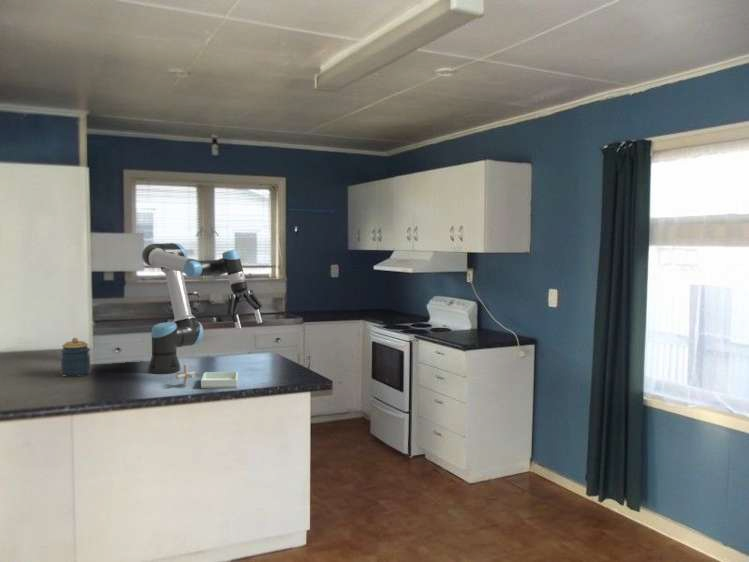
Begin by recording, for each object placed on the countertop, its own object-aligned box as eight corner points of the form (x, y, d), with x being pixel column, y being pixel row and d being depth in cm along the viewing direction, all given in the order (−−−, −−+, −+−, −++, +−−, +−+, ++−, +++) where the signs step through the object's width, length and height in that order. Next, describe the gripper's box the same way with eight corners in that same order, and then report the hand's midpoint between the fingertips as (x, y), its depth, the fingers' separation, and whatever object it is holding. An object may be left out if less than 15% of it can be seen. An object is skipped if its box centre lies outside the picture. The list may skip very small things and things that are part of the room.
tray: (200, 388, 286) (200, 380, 286) (204, 380, 301) (204, 372, 301) (236, 388, 289) (236, 379, 288) (238, 379, 304) (238, 371, 304)
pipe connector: (184, 389, 284) (184, 367, 283) (169, 386, 289) (169, 364, 288) (202, 385, 292) (202, 363, 291) (186, 382, 297) (186, 360, 297)
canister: (54, 375, 303) (53, 338, 302) (75, 370, 315) (75, 334, 314) (75, 378, 299) (75, 341, 297) (96, 372, 311) (96, 336, 309)
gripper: (223, 284, 292) (234, 329, 292) (262, 277, 312) (273, 319, 312) (212, 288, 296) (224, 332, 296) (251, 280, 316) (262, 321, 316)
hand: (249, 325), depth 304 cm, fingers open, 13 cm apart
